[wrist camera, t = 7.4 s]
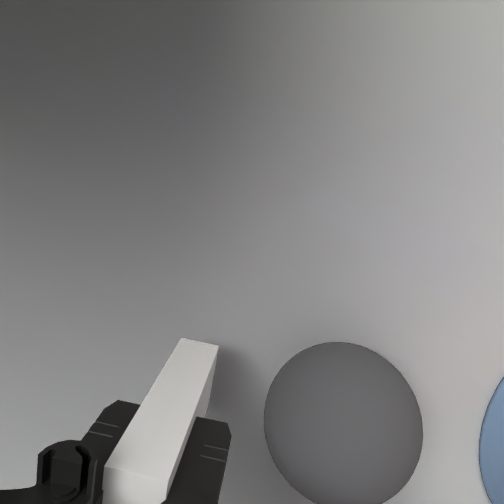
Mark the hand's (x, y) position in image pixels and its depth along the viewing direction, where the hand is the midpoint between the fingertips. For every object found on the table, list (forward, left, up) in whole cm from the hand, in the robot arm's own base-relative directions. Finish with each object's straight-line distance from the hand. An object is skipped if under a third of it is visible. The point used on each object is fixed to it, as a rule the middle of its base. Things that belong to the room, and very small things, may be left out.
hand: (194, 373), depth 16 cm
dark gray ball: (+3, +4, +1) cm, 6 cm away
